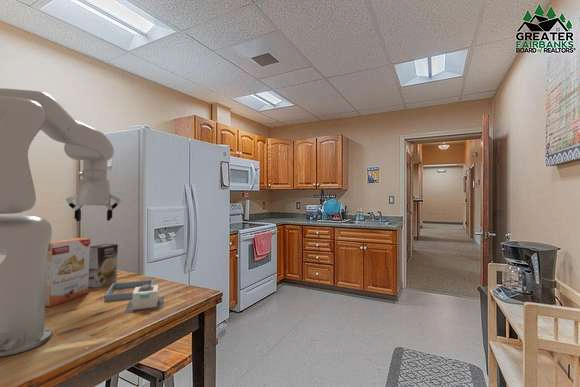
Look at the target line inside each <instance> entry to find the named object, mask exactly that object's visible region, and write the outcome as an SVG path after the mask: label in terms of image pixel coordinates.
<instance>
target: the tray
mask: <svg viewBox="0 0 580 387" xmlns="http://www.w3.org/2000/svg"><path fill="white" fill-rule="evenodd" d="M142 285H151V286H153V285H155V279H146V280H143V279H142V280H134V281H125V282H124V281H122V282H113V283H111V285H110V286H109V288H108V289H107V291H106V293H105V294H104V295H103V297H104V299H103V301H104V302H105V303H106V302H112V301H121V300H132V299H133V292H134V291H129V292H128V291H127V292H121V293H113V292H114V291H115V290H126V289H127V290H128V289H135V287H141V286H142Z"/></svg>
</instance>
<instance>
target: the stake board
mask: <svg viewBox="0 0 580 387" xmlns="http://www.w3.org/2000/svg"><path fill="white" fill-rule="evenodd" d="M150 288H151V285H142V286H141V289H142V292H143V291H150ZM132 302H133V299H130V300H128V302H127V305H126V307H125V310H124V312H123V313H124V314H130V313H137V312H145V311H151V310H154V311H155V310H158V309H159V310H160V309H164V306H165V296H158V302H157V307H150V308H142V309H135V310H132Z"/></svg>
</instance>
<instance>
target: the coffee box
mask: <svg viewBox="0 0 580 387" xmlns="http://www.w3.org/2000/svg"><path fill="white" fill-rule="evenodd" d="M118 247H119V245H118V244H116V243H114V244H113V243H104V244H98V245H92V246H91V245H90V256H89V279H88V288H89V287H90V288H97V289H98V288H101V287H104V286H107V285H110V284H113V283H117V278H118V275H117V274H118V252H119V251H118Z"/></svg>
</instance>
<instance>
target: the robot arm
mask: <svg viewBox="0 0 580 387" xmlns="http://www.w3.org/2000/svg"><path fill="white" fill-rule="evenodd" d="M40 131H42V132H43V133H44V134H45V135H46V136H48V137H49V138H50V139H51V140H53V141H56V142H59V143H62V144H64V146H63V147H64V148H63V150H64V153H65V154H66V156H67V157H68V158H70V159H72V160H76V161H83V162H82V166H83V167H82V171H81V172H79V171H78V173H77V174H78V176H80V177H81V178H80V179H79V180H78V181H79V182H78V186H77V194H75V195H74V194H73V195H71V196H69V197H67V198H66V199H65V201H66V202H67V204H68V206H69V207H70V208H71V209H73V211H74V219H75V221H76V222H80V221H81V220H82V210H81V208H83V206H105V207H106V208H107V211H106V221H111V219H113V210H114V209H116V208H117V207H118V206H119V204H120V202H121V200H122V199H121V198H119V197H117V196H115V195H112V194H111V186H110V180H109V179H108V161H110V160H111V159H112V158H113V157H114V153H115V150H114V146H113V144H112V142H111V141H110V139H109V138H108V137H107V136H106V135H105V133H103V132H102V131H100V130H98V129H96V128H93V127H91V126H90V125H87V124H85V123H83V122H81V121H77V120H75V118H73V116H72V115H70V113H69V112H68V111H67V110H65V109H64V107H63V106H62V105H61V104H60V103H59V102H58V101H57V100H56V99H55V98H54V97H53V96H51V95H50V94H48V93H46V92H42V91H37V90H32V89H31V90H30V89H20V88H19V89H17V88H15V89H14V88H4V87H3V88H0V256H5V257H4V258H3V260H2V261H1V263H0V357H6V356H11V355H16V354H20V353H23V352H26V351H28V350H31V349H34V348H37V347H39V346H40V345H43V344H45V343H46V342H47V341H49V340H50V339H51V337H52V336H53V330H52V329H51V328H50V327H45V316H46V315H45V312H46V311H45V310H46V306H45V282H46V260H47V253H48V248H49V244H50V242H52V241H51V240H52V236H53V228H52V225H51V223H50V222H49V221H48V220H46V219H44V218H42V217H39V216H36V215H35V216H34V215H12V214H20V213H25V212H28V211H30V210H32V209H33V208H34V206H35V205H36V202H37V198H36V190H35V186H34V185H35V184H34V180H33V175H32V171H31V167H30V162H29V149H30V146H31V145H32V142H33V140H34V139H35V137H36V136H37V135H38V134H39V132H40ZM73 200H76V204H75V203H74V202H73ZM111 200H113V201H115V202H114V203H113V204H112V205H111ZM8 214H9V215H8ZM10 214H11V215H10Z"/></svg>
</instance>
